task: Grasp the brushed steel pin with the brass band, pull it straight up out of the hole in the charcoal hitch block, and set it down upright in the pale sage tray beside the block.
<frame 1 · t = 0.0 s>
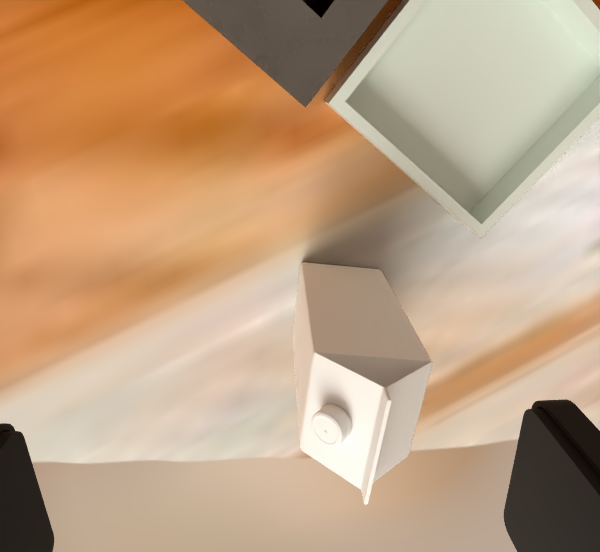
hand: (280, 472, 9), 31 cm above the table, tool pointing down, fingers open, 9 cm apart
milk carton: (335, 300, 42), on the table
tray: (466, 85, 36), on the table
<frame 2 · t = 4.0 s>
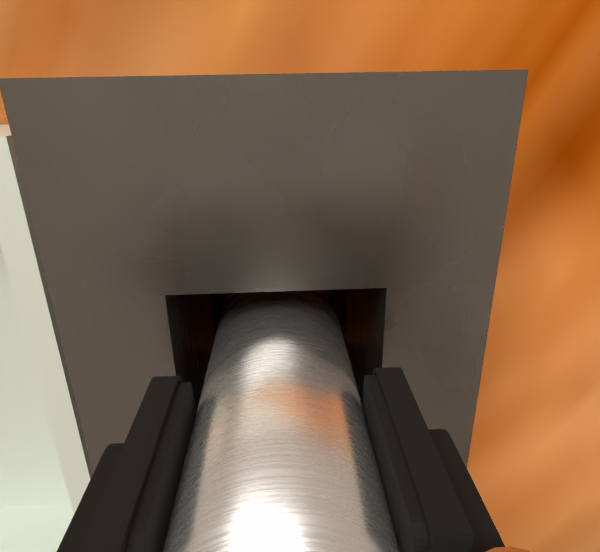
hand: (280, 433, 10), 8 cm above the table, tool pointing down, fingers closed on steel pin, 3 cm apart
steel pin: (280, 440, 10), in the hitch block, touching gripper
hitch block: (279, 286, 17), on the table
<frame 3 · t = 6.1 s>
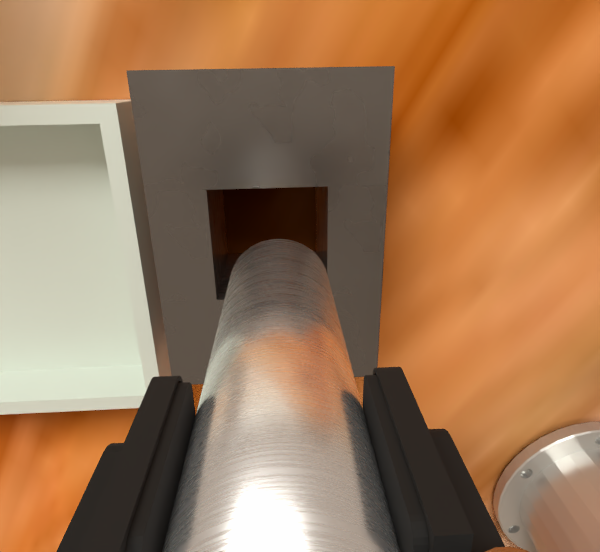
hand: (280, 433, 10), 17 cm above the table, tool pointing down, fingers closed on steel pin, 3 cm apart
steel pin: (280, 439, 10), point 18 cm above the table, touching gripper
hitch block: (270, 209, 26), on the table
tray: (18, 252, 26), on the table
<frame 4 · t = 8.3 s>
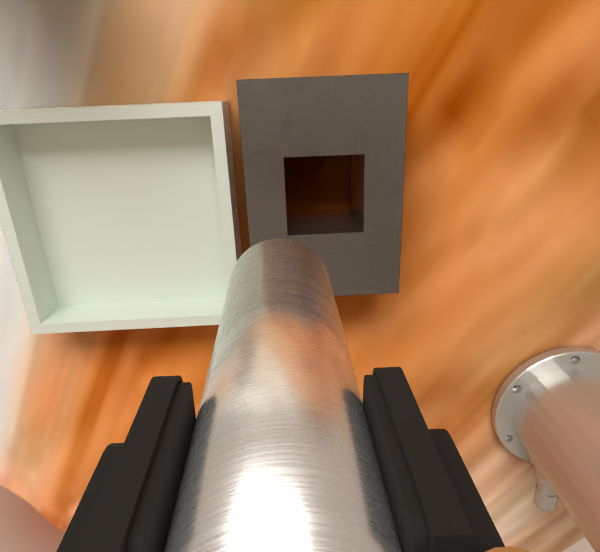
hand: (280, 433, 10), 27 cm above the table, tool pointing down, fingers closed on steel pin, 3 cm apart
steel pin: (282, 439, 10), point 28 cm above the table, touching gripper
hitch block: (318, 178, 35), on the table
tray: (135, 213, 36), on the table
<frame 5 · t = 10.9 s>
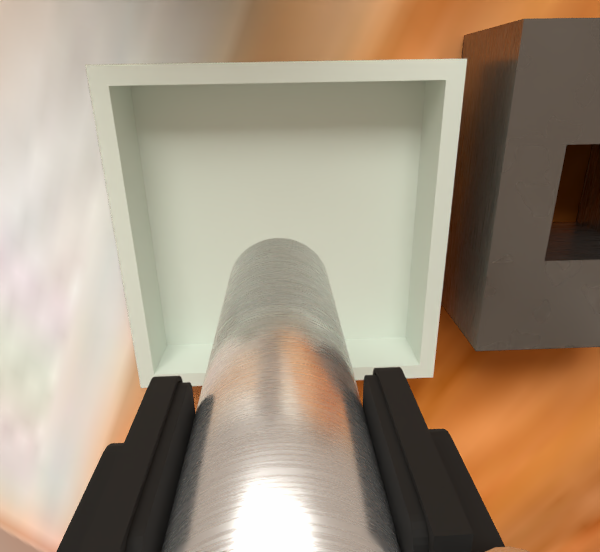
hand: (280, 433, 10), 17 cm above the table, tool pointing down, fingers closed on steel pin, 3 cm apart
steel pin: (280, 439, 10), point 17 cm above the table, touching gripper
hitch block: (540, 178, 25), on the table
tray: (283, 220, 26), on the table
when the fingers open (10 cm above the table, at t = 12.9 s): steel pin drops 1 cm, resting on tray.
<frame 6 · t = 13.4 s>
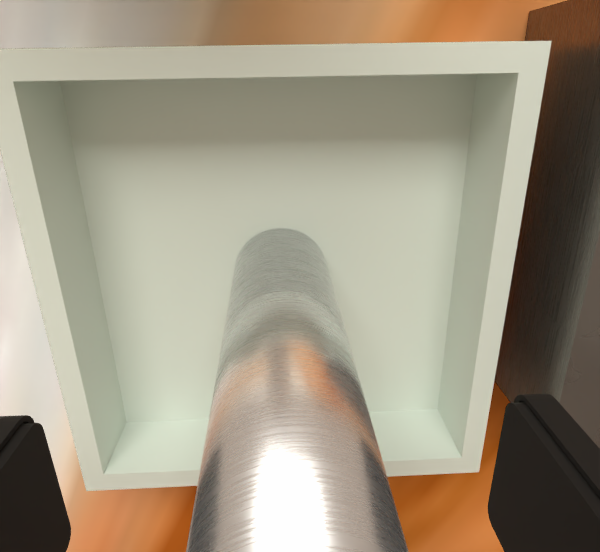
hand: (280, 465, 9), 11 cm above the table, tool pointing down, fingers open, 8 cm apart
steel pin: (288, 408, 11), in the tray, point 9 cm above the table
tray: (278, 262, 19), on the table
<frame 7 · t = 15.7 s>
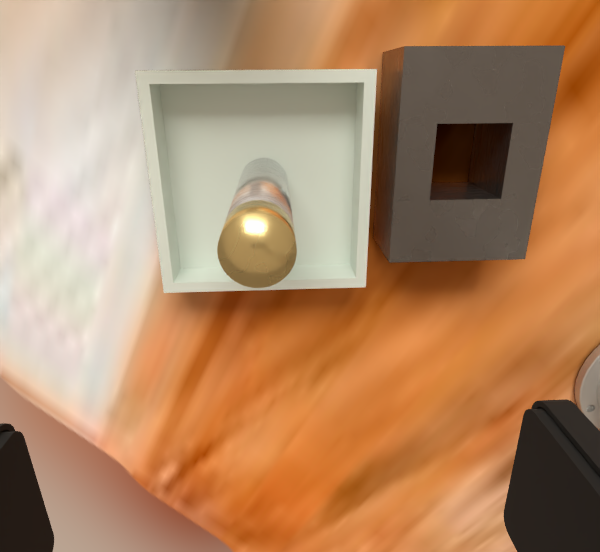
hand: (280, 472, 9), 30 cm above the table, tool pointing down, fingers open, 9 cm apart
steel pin: (261, 207, 29), in the tray, point 9 cm above the table
hitch block: (440, 150, 37), on the table
tray: (263, 179, 37), on the table
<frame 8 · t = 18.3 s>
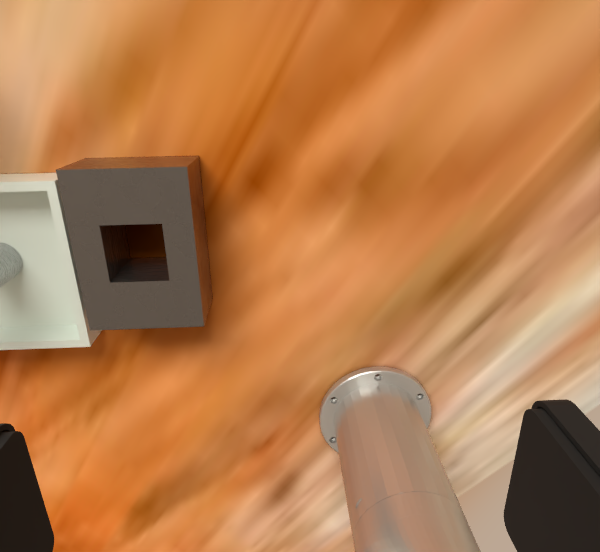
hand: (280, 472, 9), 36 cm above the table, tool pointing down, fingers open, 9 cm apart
hitch block: (153, 232, 44), on the table
tray: (7, 257, 45), on the table
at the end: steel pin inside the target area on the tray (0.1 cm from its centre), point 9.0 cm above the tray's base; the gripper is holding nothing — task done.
